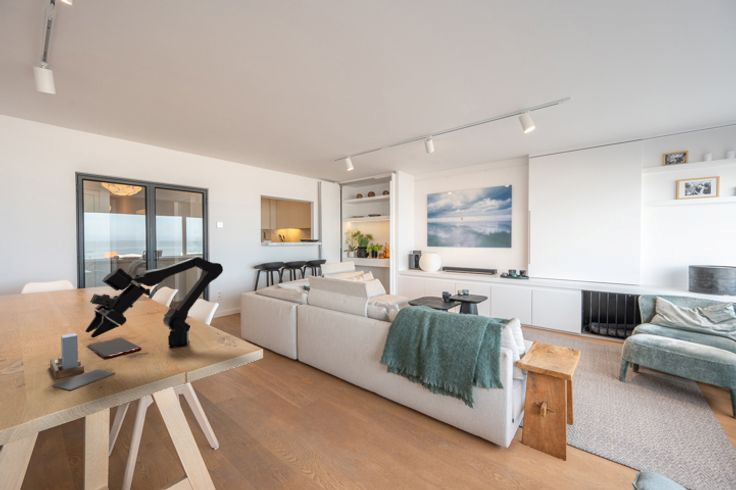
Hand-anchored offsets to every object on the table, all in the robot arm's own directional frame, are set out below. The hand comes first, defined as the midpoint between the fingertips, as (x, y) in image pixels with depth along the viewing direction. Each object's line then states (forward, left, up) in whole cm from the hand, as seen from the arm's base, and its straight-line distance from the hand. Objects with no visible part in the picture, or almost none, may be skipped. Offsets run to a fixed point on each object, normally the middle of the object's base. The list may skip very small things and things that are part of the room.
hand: (89, 334), depth 108 cm
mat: (-4, +11, -12) cm, 17 cm away
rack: (+7, -1, -12) cm, 13 cm away
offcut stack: (+9, -5, -12) cm, 15 cm away
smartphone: (+1, -20, -12) cm, 24 cm away
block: (+4, +3, -12) cm, 13 cm away
